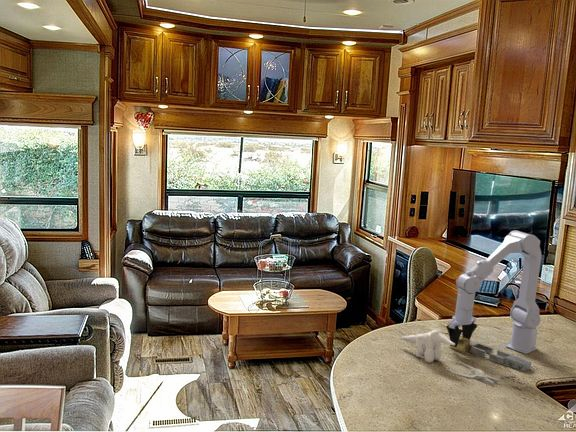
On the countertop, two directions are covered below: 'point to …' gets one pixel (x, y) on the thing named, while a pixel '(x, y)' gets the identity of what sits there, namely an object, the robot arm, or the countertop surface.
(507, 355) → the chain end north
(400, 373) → the countertop surface
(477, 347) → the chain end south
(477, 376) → the pliers
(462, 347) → the brushed brass bar
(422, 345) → the dinosaur statue
